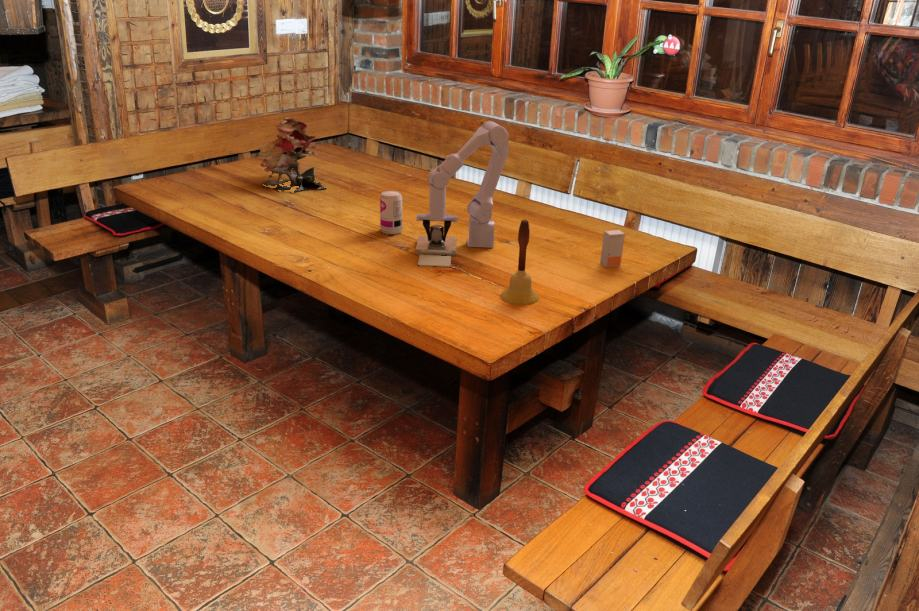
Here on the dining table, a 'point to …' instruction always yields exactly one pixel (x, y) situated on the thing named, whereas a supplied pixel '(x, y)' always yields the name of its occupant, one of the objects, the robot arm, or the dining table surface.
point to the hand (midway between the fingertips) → (436, 240)
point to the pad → (434, 260)
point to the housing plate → (436, 247)
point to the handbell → (521, 274)
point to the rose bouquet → (288, 155)
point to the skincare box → (612, 248)
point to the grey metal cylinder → (436, 235)
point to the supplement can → (391, 212)
